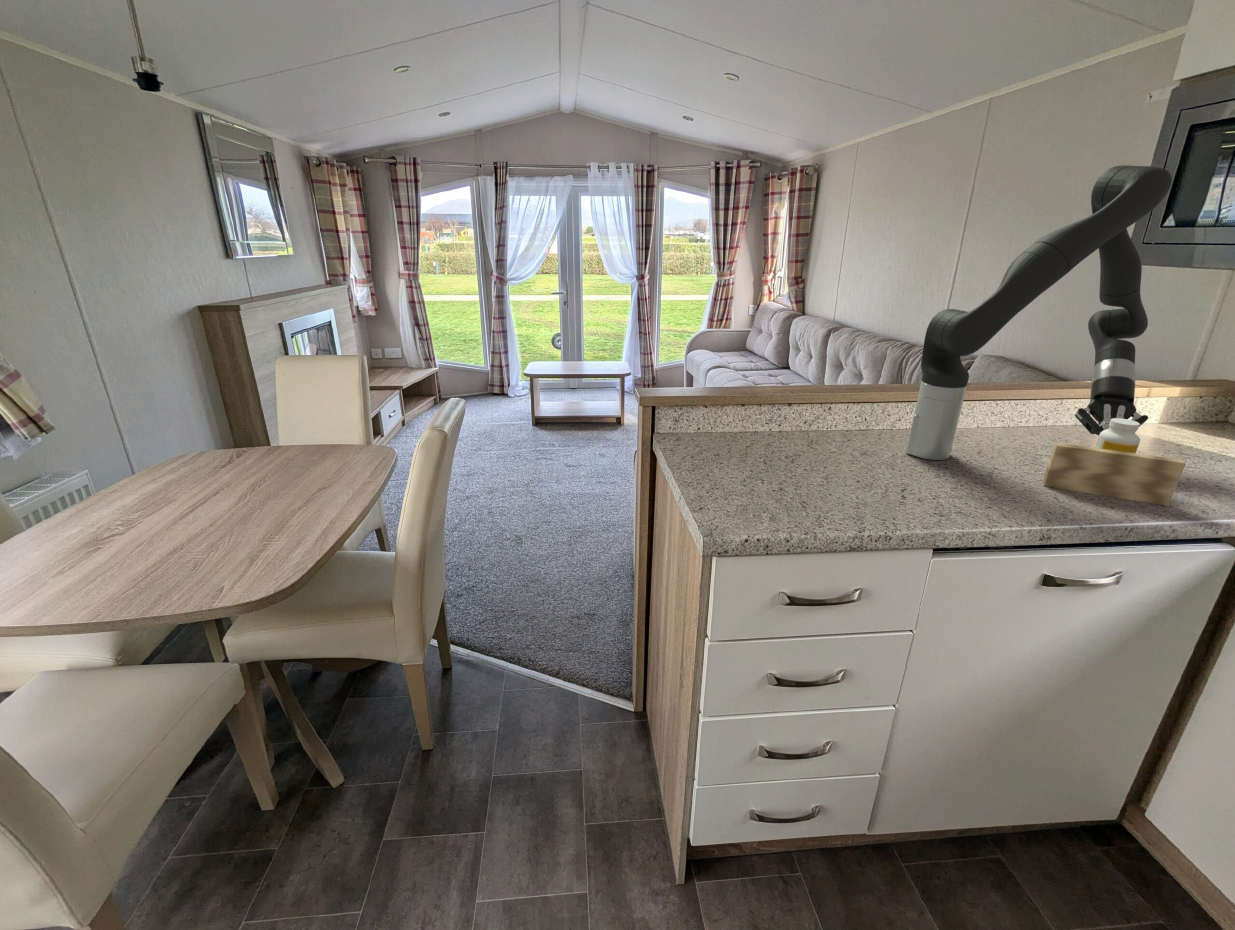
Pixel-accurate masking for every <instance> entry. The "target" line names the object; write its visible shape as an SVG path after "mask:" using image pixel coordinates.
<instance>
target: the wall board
mask: <svg viewBox="0 0 1235 930" xmlns="http://www.w3.org/2000/svg"><path fill="white" fill-rule="evenodd" d="M1186 465H1187V463H1186V462H1185V461H1184V460H1183V459H1179V458H1171V457H1165V456H1164V457H1163V456H1157V455H1150V454H1149V455H1148V454H1142V453H1137V452H1136V453H1128V452H1121V451H1114V450H1106V449H1099V448H1095V447H1090V446H1084V445H1083V446H1082V445H1077V444H1076V445H1075V444H1071V443H1070V444H1069V443H1064V442H1063V443H1061V442H1055V443H1054V445H1053V448H1052V451H1051V455H1050V458H1049V461H1048V464H1047V467H1046V470H1045V472H1044V473H1045V474H1044V476H1043V480H1042V484H1043V486H1044V487H1049V488H1056V489H1062V490H1067V491H1074V492H1079V493H1085V494H1090V495H1091V494H1092V495H1099V496H1103V497H1110V498H1116V499H1122V500H1127V501H1128V500H1129V501H1132V502H1133V501H1135V502H1140V503H1146V504H1152V505H1159V506H1164V507H1169V505H1170V503H1171V500H1172V498H1173V496H1174V493H1175V491H1176V489H1177V486H1178V484H1179V481H1180V479H1181V477H1182V474H1183V472H1184V470H1185V467H1186Z"/></svg>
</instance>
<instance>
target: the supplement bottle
mask: <svg viewBox="0 0 1235 930" xmlns="http://www.w3.org/2000/svg"><path fill="white" fill-rule="evenodd" d="M1139 425H1140V424H1139V423H1138V422H1136V421H1132V419H1121V418H1113V419H1111V421H1110V423H1109V426H1110V427H1109V429H1107V430H1104V431H1102V432H1101V433H1100V434H1099V436H1098V438H1097V440H1096V444H1095V447H1094V448H1099V449H1106V450H1114V451H1121V452H1128V453H1136V454H1137V451H1138V447H1139V445H1140V442H1141V438H1140V437H1139V436H1138V435H1137V434H1136V432H1137V431H1138V430H1139V428H1140V427H1139Z"/></svg>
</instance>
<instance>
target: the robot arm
mask: <svg viewBox="0 0 1235 930" xmlns="http://www.w3.org/2000/svg"><path fill="white" fill-rule="evenodd" d="M1172 183H1173V177H1172V174H1171V172H1169V170H1167V169H1166V168H1163V167H1158V166H1152V165H1126V164H1125V165H1124V164H1123V165H1117V166H1115V165H1114V166H1113V167H1110V168H1108V169H1107V170H1105V171H1104V172H1103V173H1101V174H1100V176H1099V177H1098V178H1097V179H1096V181H1095V183H1094V185H1093V187H1092V190H1091V194H1090V205H1091V212H1092V214H1090V215H1089V216H1087V217H1084V218H1083V219H1079V220H1078V221H1075V222H1073V223H1070V224H1067V225H1065V226H1062V227H1060V228H1058V229H1056V230H1054V231H1052V232H1049V233H1047V234H1045V235H1043V236H1042V237H1040V238H1038V239H1037V240H1036V241H1035V242H1034V243H1032V244H1031V245H1030V246H1028V247H1027V248H1026V249H1025V250H1024V251H1022V252H1021V253H1020V254H1019V255H1018V256H1016V257H1015V259H1013V261H1012V262H1011V263H1010V265H1009V266H1008V268H1007V269H1006V271H1005V273H1004V276H1003V277H1002V280H1001V282H1000V284H999V287H998V288H997V289H996V290H995V292H993V293H992V294H991V295H990V296H989V297H988V298H987V299H986V300H984V301H983V302H981V303H980V304H979V305H977V307H975V308H973V309H971V310H970V311H966V310H961V309H956V308H946V309H942V310H941V311H939V312H937V313H936V314H935V315H934V316H933V317H932V318H931V320H930V322H929V323H928V325H927V328H926V332H925V336H924V341H923V346H922V347H923V348H922V353H921V361H920V369H921V373H922V374H921V375H922V376H921V381H920V386H919V390H918V395H917V399H916V405H915V409H914V411H913V412H914V413H913V418H912V423H911V427H910V431H909V435H908V436H909V437H908V442H907V447H906V450H905V454H907V455H911V456H914V457H916V458H920V459H924V460H932V461H941V460H947V459H949V458H950V456H951V452H952V449H953V444H954V441H955V438H956V437H955V436H956V432H957V429H958V424H959V420H960V416H961V413H962V408H963V404H964V399H965V395H966V392H967V389H968V383H969V380H970V373H969V372H968V371H967V369H966V368H965V366H964V364H963V363H962V359H961V357H965V356H971V355H972V354H974V353H976V352H977V351H979V350H980V349H982V348H983V347H984V346H985V345H986V344H987V343H988V342H989V341H991V340H992V338H993V337H995V336H996V335H997V334H998V332H1000V331H1001V330H1002V329H1003V328H1004V327H1005V326H1006V325H1007V324H1008V323H1009V322H1010V321H1011V320H1012V319H1013V318H1014V317H1015V316H1016V315H1018V314H1019V313H1020V312H1022V310H1024V309H1025V308H1026V307H1027V306H1029V305H1030V304H1031V303H1032V302H1034V300H1035V299H1037V298H1038V297H1039V296H1040V295H1042V294H1043V293H1045V291H1048V290H1049V288H1051V287H1052V286H1054V285H1055V284H1056V283H1057V282H1058V281H1059V280H1062V278H1063V277H1064V276H1066V275H1067V274H1068V273H1070V272H1071V271H1072V270H1073V269H1074V268H1075V267H1076V266H1078V265H1079V264H1080V263H1081V262H1083V261H1084V260H1085V259H1087V258H1088V257H1089V256H1090V255H1092V254H1093V253H1094V252H1096V250H1098V254H1099V263H1100V264H1099V265H1100V266H1099V267H1100V268H1099V270H1100V273H1099V274H1100V275H1099V294H1098V295H1099V296H1098V297H1099V301H1100V303H1101V304H1102V305H1105V306H1109V307H1115V308H1114V309H1103V310H1099V311H1098V310H1097V312H1095V313H1094V314H1092V315H1091V316H1090V317H1089V320H1088V323H1087V328H1088V333H1089V336H1090V339H1091V341H1092V344H1093V346H1094V353H1095V355H1094V368H1093V371H1092V375H1091V380H1090V385H1091V387H1090V397H1089V398H1090V400H1089V403H1088V405H1086V407H1084V408H1083V407H1081V408H1078V410H1077V411H1076V413H1075V414H1074V417H1075V418H1076V419H1077V420H1078V421H1079V422H1080V424H1081V425H1082V426H1083V427H1084V428H1085V429H1086V431H1088V432H1089V434H1091V435H1097V436H1098V437H1099V434H1100V433H1101V432H1102V431H1104V430H1107V429H1109V427H1110V426H1109V423H1110V421H1111V419H1113V418H1121V419H1128V420H1130V419H1131V420H1132V421H1136V422H1138V423H1139V424H1140V425H1139V428H1140V427H1141V426H1142V425H1143V424H1145V423H1146V422H1147V421H1148V420H1149V415H1146V414H1143V415H1142V414H1141V413H1139V412H1137V407H1136V406H1135V391H1136V375H1137V374H1136V367H1135V366H1136V345H1135V344H1134V343H1133V342H1131V341H1129V340H1126V339H1134V338H1135V339H1136V338H1139V337H1141V336H1142V335H1143V334H1144V333H1145V332H1146V330H1147V328H1148V323H1149V321H1148V320H1149V319H1148V316H1147V312H1146V310H1145V307H1144V305H1143V301H1142V297H1141V285H1142V284H1141V283H1142V275H1143V274H1142V272H1143V268H1142V267H1143V266H1142V260H1141V257H1140V254H1139V252H1138V250H1137V248H1136V246H1135V244H1134V242H1133V241H1132V238H1131V236H1130V234H1129V232H1128V228H1130V226H1132V225H1134V224H1135V223H1137V222H1138V221H1139V220H1141V219H1143V218H1145V216H1146V215H1148V214H1150V212H1152V211H1153V210H1155V208H1156V207H1157V206H1158V205H1159V204H1160V203H1162V201H1163V200H1164V199H1165V197H1166V196H1167V195H1168V193H1169V191H1170V188H1171V186H1172ZM1116 307H1118V308H1116Z"/></svg>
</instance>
